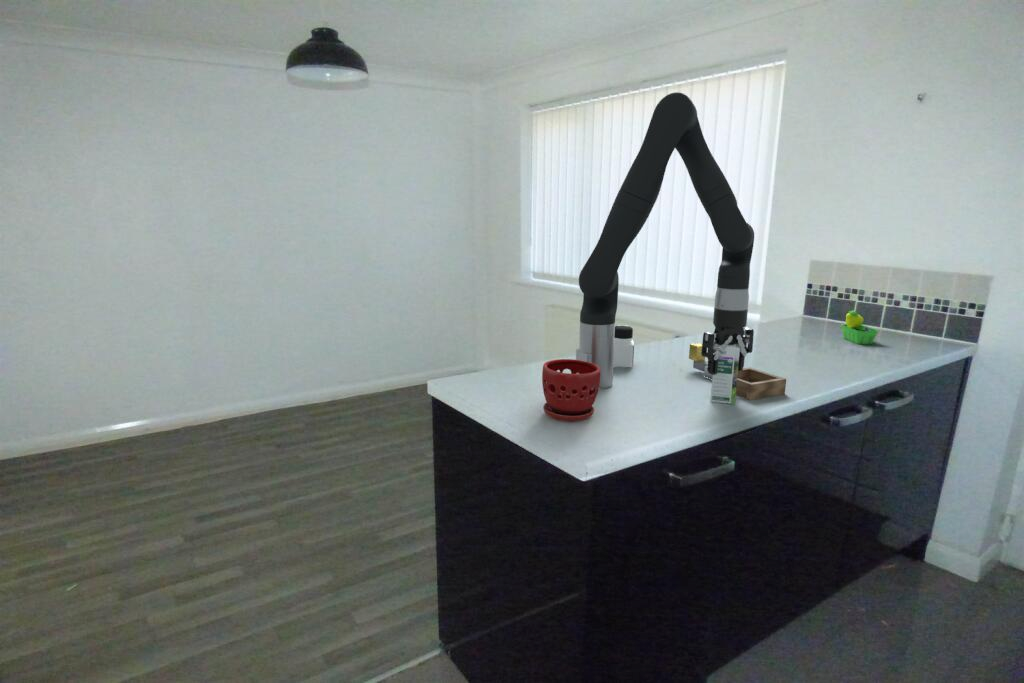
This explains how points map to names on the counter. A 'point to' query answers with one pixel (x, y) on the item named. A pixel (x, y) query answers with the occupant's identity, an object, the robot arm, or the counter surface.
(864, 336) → the fruit basket
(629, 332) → the medicine bottle
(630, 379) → the counter surface
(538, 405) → the counter surface
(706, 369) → the pin guide
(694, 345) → the lock pin
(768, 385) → the wooden tray
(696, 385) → the counter surface
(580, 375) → the plant pot
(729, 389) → the syrup box
